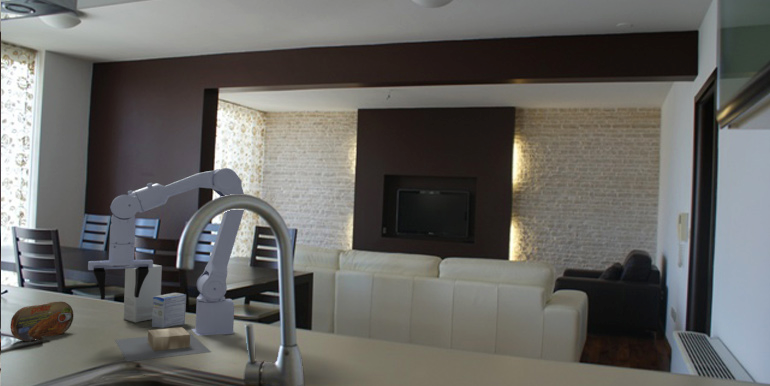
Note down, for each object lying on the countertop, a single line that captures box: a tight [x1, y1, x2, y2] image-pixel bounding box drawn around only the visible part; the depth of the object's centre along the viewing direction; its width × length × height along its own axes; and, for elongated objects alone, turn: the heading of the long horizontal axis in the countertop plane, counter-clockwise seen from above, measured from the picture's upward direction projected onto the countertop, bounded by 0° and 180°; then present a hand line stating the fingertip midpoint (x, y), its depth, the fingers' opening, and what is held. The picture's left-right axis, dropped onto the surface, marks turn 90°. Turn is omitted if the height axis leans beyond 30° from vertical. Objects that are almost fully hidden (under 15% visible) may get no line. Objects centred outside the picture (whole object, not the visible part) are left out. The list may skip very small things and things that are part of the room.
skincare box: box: [123, 263, 163, 323], centre depth 163 cm, size 8×7×16 cm
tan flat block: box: [147, 327, 190, 351], centre depth 134 cm, size 3×8×8 cm
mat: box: [114, 332, 212, 362], centre depth 133 cm, size 18×20×1 cm
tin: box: [10, 301, 74, 342], centre depth 139 cm, size 15×3×8 cm, turn 157°
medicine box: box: [151, 292, 187, 329], centre depth 155 cm, size 8×4×9 cm, turn 154°
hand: (119, 297), depth 139 cm, fingers open, 7 cm apart
